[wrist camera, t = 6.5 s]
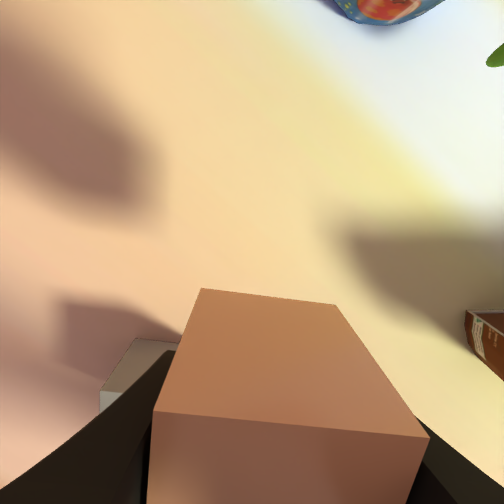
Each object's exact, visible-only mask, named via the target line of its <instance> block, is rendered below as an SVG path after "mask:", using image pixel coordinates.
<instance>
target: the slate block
mask: <svg viewBox="0 0 504 504" xmlns="http://www.w3.org/2000/svg"><path fill="white" fill-rule="evenodd" d="M178 346H179V343H172V342H164V341H155V340H146V339H138V338H135V340H134V341H133V343H132V344H131V346H130V347H129V349H128V350H127V352H126V353H125V355H124V356H123V357H122V359H121V360H120V362H119V363H118V365H117V366H116V368H115V369H114V371H113V372H112V374H111V375H110V377H109V378H108V380H107V381H106V383H105V384H104V386H103V387H102V388H101V390H100V413H101V412H102V411H104V410H105V409H106V408H107V407H108V406H109V405H111V404H112V403H113V402H114V401H115V400H116V399H117V398H118V397H119V396H120V395H121V394H123V393H124V392H125V391H126V390H127V389H128V388H129V387H130V386H131V385H132V384H133V383H134V382H135V381H136V380H137V379H138V378H139V377H141V376H142V375H143V374H144V373H145V372H146V371H147V370H148V369H149V368H150V366H151V365H152V364H153V363H154V362H155V361H156V360H157V359H158V358H159V357H160V356H161V355H162V354H163V353H164V352H165V351H167V350H173V351H177V348H178Z"/></svg>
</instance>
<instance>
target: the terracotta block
mask: <svg viewBox="0 0 504 504" xmlns="http://www.w3.org/2000/svg"><path fill="white" fill-rule="evenodd" d="M429 440H430V437H429V436H428V434H427V433H426V431H425V430H424V429H423V427H422V426H421V424H420V423H419V421H418V420H417V419H416V417H415V416H414V414H413V413H412V412H411V410H410V409H409V407H408V406H407V405H406V403H405V402H404V400H403V399H402V398H401V396H400V395H399V393H398V392H397V391H396V389H395V388H394V386H393V385H392V383H391V382H390V381H389V379H388V378H387V376H386V375H385V374H384V372H383V371H382V369H381V368H380V367H379V365H378V364H377V362H376V361H375V360H374V358H373V357H372V355H371V354H370V352H369V351H368V350H367V348H366V347H365V345H364V344H363V343H362V341H361V340H360V338H359V337H358V336H357V334H356V333H355V331H354V330H353V329H352V327H351V326H350V324H349V323H348V321H347V320H346V319H345V317H344V316H343V314H342V313H341V312H340V310H339V309H338V307H337V306H336V305H332V304H324V303H316V302H308V301H300V300H292V299H284V298H276V297H268V296H261V295H253V294H245V293H237V292H229V291H221V290H213V289H205V288H201V290H200V292H199V295H198V297H197V300H196V302H195V305H194V307H193V310H192V313H191V315H190V318H189V320H188V323H187V325H186V328H185V330H184V333H183V335H182V338H181V341H180V343H179V346H178V348H177V351H176V353H175V356H174V358H173V361H172V364H171V366H170V369H169V371H168V374H167V376H166V379H165V381H164V384H163V387H162V389H161V392H160V394H159V397H158V399H157V402H156V404H155V407H154V409H153V418H152V432H151V447H150V461H149V475H148V489H147V503H146V504H405V503H406V501H407V498H408V495H409V493H410V490H411V487H412V485H413V482H414V480H415V477H416V474H417V472H418V469H419V466H420V464H421V461H422V458H423V456H424V453H425V451H426V448H427V445H428V443H429Z"/></svg>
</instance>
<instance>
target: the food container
mask: <svg viewBox="0 0 504 504" xmlns="http://www.w3.org/2000/svg"><path fill="white" fill-rule="evenodd" d="M465 330H466V335H467V340H468V344H469V345H470V347H471V348H472V350H473V351H474V353H475V354H476V355H477V357H478V358H479V359H480V360H481V361H482V362H483V363H484V364H485V365H487V366H488V367H489V368H490V369H491V370H492V371H493V372H494V373H495V374H496V375H498V376H499V377H500V378H501V379H502V380H503V381H504V310H466V317H465Z"/></svg>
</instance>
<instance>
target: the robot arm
mask: <svg viewBox="0 0 504 504" xmlns="http://www.w3.org/2000/svg"><path fill="white" fill-rule="evenodd" d="M175 353H176V351H173V350H167V351H165V352H164V353H163V354H162V355H161V356H160V357H159V358H158V359H157V360H156V361H155V362H154V363H153V364H152V365H151V366H150V368H149V369H148V370H147V371H146V372H145V373H144V374H143V375H142V376H141V377H139V378H138V379H137V380H136V381H135V382H134V383H133V384H132V385H131V386H130V387H129V388H128V389H127V390H126V391H125V392H124V393H123V394H121V395H120V396H119V397H118V398H117V399H116V400H115V401H114V402H113V403H112V404H111V405H109V406H108V407H107V408H106V409H105V410H104V411H102V412H101V413H100V414H99V415H98V416H96V417H95V418H94V419H93V420H92V421H91V422H89V423H88V424H87V425H86V426H85V427H84V428H82V429H81V430H80V431H79V432H77V433H76V434H75V435H74V436H72V437H71V438H70V439H69V440H67V441H66V442H65V443H64V444H62V445H61V446H60V447H58V448H57V449H56V450H55V451H53V452H52V453H51V454H49V455H48V456H47V457H45V458H44V459H43V460H41V461H40V462H38V463H37V464H36V465H34V466H33V467H32V468H30V469H29V470H28V471H26V472H25V473H24V474H22V475H21V476H19V477H18V478H16V479H15V480H13V481H12V482H11V483H9V484H8V485H6V486H5V487H3V488H2V489H0V504H146V503H147V489H148V475H149V461H150V447H151V432H152V418H153V409H154V407H155V404H156V402H157V399H158V397H159V394H160V392H161V389H162V387H163V384H164V381H165V379H166V376H167V374H168V371H169V369H170V366H171V364H172V361H173V358H174V356H175ZM415 417H416V416H415ZM416 419H417V420H418V421H419V423H420V424H421V426H422V427H423V429H424V430H425V431H426V433H427V434H428V436H429V437H430V440H429V443H428V445H427V448H426V451H425V453H424V456H423V458H422V461H421V464H420V466H419V469H418V472H417V474H416V477H415V480H414V482H413V485H412V487H411V490H410V493H409V495H408V498H407V501H406V503H405V504H504V488H503V487H502V486H501V485H499V484H498V483H497V482H496V481H494V480H493V479H492V478H490V477H489V476H488V475H486V474H485V473H484V472H482V471H481V470H480V469H479V468H477V467H476V466H475V465H474V464H472V463H471V462H470V461H469V460H467V459H466V458H465V457H464V456H462V455H461V454H460V453H459V452H457V451H456V450H455V449H454V448H452V447H451V446H450V445H449V444H448V443H446V442H445V441H444V440H443V439H441V438H440V437H439V436H438V435H437V434H436V433H434V432H433V431H432V430H431V429H430V428H428V427H427V426H426V425H425V424H424V423H423V422H421V421H420V420H419V419H418V418H417V417H416Z"/></svg>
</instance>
